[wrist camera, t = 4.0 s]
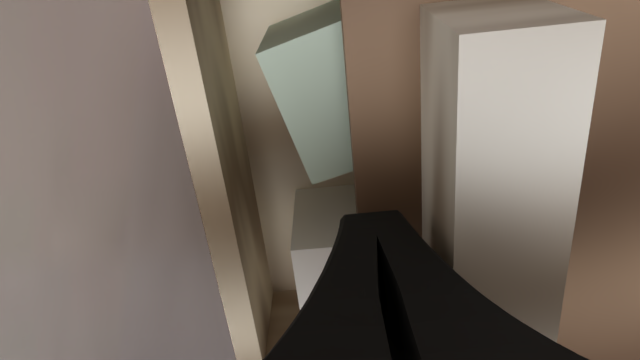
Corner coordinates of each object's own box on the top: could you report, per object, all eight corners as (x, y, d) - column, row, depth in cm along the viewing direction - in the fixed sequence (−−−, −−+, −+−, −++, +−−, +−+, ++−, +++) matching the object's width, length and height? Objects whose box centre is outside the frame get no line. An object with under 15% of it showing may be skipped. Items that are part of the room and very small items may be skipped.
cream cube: (403, 265, 19) (421, 336, 15) (307, 273, 19) (305, 345, 16) (401, 180, 17) (420, 239, 14) (295, 189, 17) (290, 250, 14)
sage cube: (420, 94, 16) (447, 138, 12) (313, 133, 16) (312, 184, 13) (386, -21, 14) (406, -6, 11) (269, 25, 15) (255, 54, 11)
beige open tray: (662, 262, 20) (751, 349, 16) (257, 295, 20) (243, 387, 16) (762, -124, 14) (948, -146, 10) (186, -59, 14) (135, -52, 10)
